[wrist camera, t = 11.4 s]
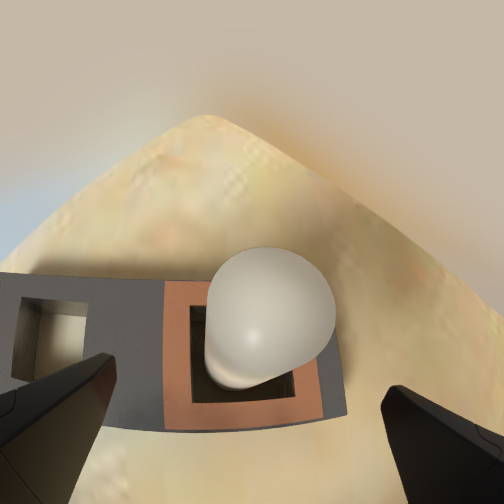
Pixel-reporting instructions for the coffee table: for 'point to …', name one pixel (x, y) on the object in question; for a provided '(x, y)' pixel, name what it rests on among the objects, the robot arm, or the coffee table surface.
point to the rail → (154, 354)
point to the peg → (265, 317)
